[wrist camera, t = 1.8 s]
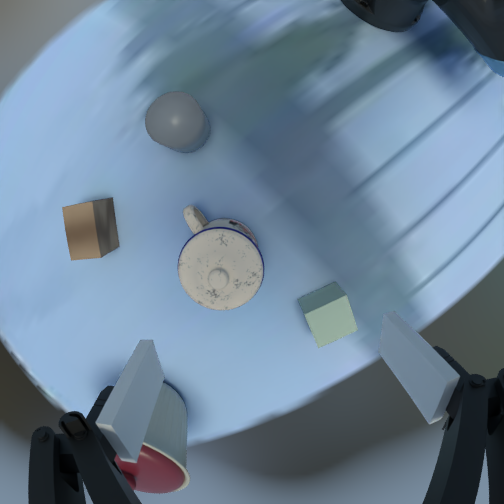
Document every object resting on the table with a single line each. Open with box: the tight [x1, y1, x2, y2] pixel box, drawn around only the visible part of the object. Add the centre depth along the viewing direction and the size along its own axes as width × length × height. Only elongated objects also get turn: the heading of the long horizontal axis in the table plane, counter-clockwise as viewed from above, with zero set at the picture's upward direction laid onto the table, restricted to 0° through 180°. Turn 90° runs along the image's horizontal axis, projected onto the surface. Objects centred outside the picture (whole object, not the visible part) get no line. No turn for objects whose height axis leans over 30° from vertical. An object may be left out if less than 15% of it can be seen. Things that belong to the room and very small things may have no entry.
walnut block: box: [62, 198, 119, 260], centre depth 33 cm, size 7×5×6 cm
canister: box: [114, 383, 190, 493], centre depth 34 cm, size 18×18×21 cm
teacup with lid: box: [178, 205, 264, 310], centre depth 31 cm, size 12×9×12 cm
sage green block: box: [298, 282, 358, 348], centre depth 38 cm, size 6×6×5 cm
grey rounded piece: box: [145, 92, 210, 153], centre depth 29 cm, size 6×6×8 cm
